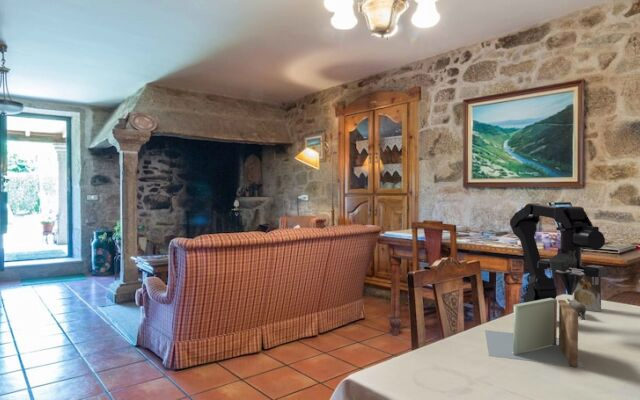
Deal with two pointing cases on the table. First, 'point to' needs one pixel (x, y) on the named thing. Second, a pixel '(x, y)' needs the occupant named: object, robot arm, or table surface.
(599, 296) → the coffee box
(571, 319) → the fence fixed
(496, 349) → the card
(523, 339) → the panel
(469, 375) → the table surface
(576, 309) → the rhino figurine
